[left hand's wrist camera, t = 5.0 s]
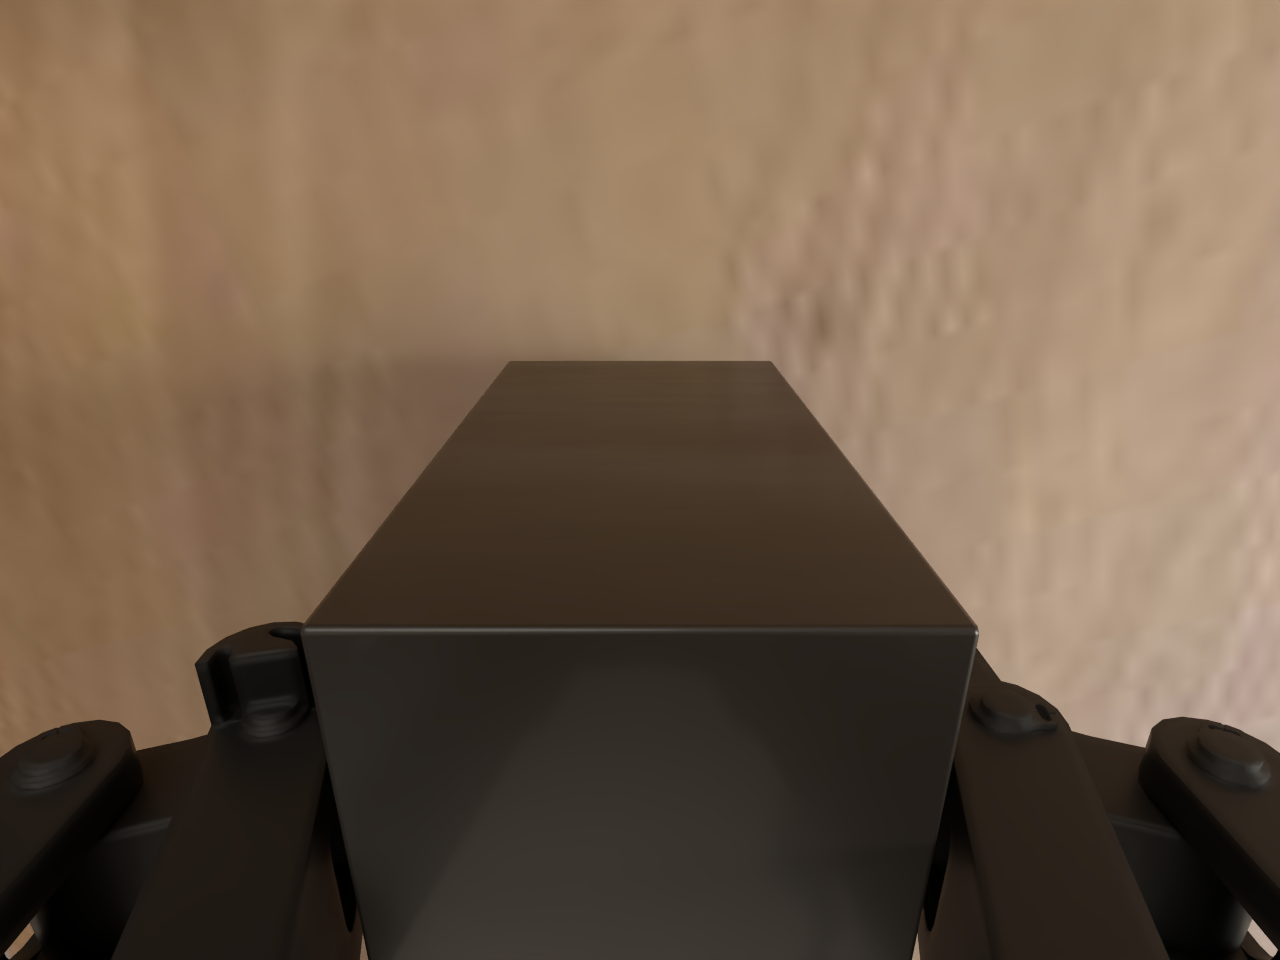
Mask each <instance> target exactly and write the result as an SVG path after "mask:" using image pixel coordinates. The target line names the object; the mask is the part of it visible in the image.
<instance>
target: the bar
mask: <svg viewBox="0 0 1280 960" xmlns="http://www.w3.org/2000/svg"><path fill="white" fill-rule="evenodd" d="M978 637H979V630H978V627H977V625H976V624H975V622H974V621H973V620H972V619H971V617H970V616H969V615H968V613H967V612H966V611H965V610H964V608H963V607H962V606H961V604H960V603H959V602H958V601H957V599H956V598H955V597H954V595H953V594H952V593H951V592H950V590H949V589H948V588H947V586H946V585H945V584H944V583H943V581H942V580H941V579H940V578H939V576H938V575H937V574H936V572H935V571H934V570H933V569H932V567H931V566H930V565H929V563H928V562H927V561H926V560H925V558H924V557H923V556H922V554H921V553H920V552H919V551H918V549H917V548H916V547H915V545H914V544H913V543H912V542H911V540H910V539H909V538H908V536H907V535H906V534H905V533H904V531H903V530H902V529H901V527H900V526H899V525H898V524H897V522H896V521H895V520H894V518H893V517H892V516H891V515H890V513H889V512H888V511H887V509H886V508H885V507H884V506H883V504H882V503H881V502H880V500H879V499H878V498H877V497H876V495H875V494H874V493H873V491H872V490H871V489H870V488H869V486H868V485H867V484H866V482H865V481H864V480H863V479H862V477H861V476H860V475H859V473H858V472H857V471H856V470H855V468H854V467H853V466H852V464H851V463H850V462H849V461H848V459H847V458H846V457H845V455H844V454H843V453H842V452H841V450H840V449H839V448H838V446H837V445H836V444H835V443H834V441H833V440H832V439H831V437H830V436H829V435H828V434H827V432H826V431H825V430H824V428H823V427H822V426H821V425H820V423H819V422H818V421H817V419H816V418H815V417H814V416H813V414H812V413H811V412H810V410H809V409H808V408H807V407H806V405H805V404H804V403H803V402H802V400H801V399H800V398H799V396H798V395H797V394H796V393H795V391H794V390H793V389H792V387H791V386H790V385H789V384H788V382H787V381H786V380H785V378H784V377H783V376H782V375H781V373H780V372H779V371H778V369H777V368H776V367H775V366H774V364H773V363H772V362H770V361H510V362H509V363H508V364H507V365H506V366H505V368H504V369H503V370H502V371H501V373H500V374H499V375H498V377H497V378H496V379H495V380H494V382H493V383H492V384H491V386H490V387H489V388H488V389H487V391H486V392H485V393H484V395H483V396H482V397H481V398H480V400H479V401H478V402H477V403H476V405H475V406H474V407H473V409H472V410H471V411H470V412H469V414H468V415H467V416H466V418H465V419H464V420H463V421H462V423H461V424H460V425H459V426H458V428H457V429H456V430H455V432H454V433H453V434H452V435H451V437H450V438H449V439H448V441H447V442H446V443H445V444H444V446H443V447H442V448H441V449H440V451H439V452H438V453H437V455H436V456H435V457H434V458H433V460H432V461H431V462H430V464H429V465H428V466H427V467H426V469H425V470H424V471H423V473H422V474H421V475H420V476H419V478H418V479H417V480H416V481H415V483H414V484H413V485H412V487H411V488H410V489H409V490H408V492H407V493H406V494H405V496H404V497H403V498H402V499H401V501H400V502H399V503H398V504H397V506H396V507H395V508H394V510H393V511H392V512H391V513H390V515H389V516H388V517H387V519H386V520H385V521H384V522H383V524H382V525H381V526H380V527H379V529H378V530H377V531H376V533H375V534H374V535H373V536H372V538H371V539H370V540H369V542H368V543H367V544H366V545H365V547H364V548H363V549H362V551H361V552H360V553H359V554H358V556H357V557H356V558H355V559H354V561H353V562H352V563H351V565H350V566H349V567H348V568H347V570H346V571H345V572H344V574H343V575H342V576H341V577H340V579H339V580H338V581H337V582H336V584H335V585H334V586H333V588H332V589H331V590H330V591H329V593H328V594H327V595H326V597H325V598H324V599H323V600H322V602H321V603H320V604H319V606H318V607H317V608H316V609H315V611H314V612H313V613H312V614H311V616H310V617H309V618H308V620H307V621H306V622H305V623H304V625H303V626H302V629H301V639H302V643H303V648H304V653H305V658H306V663H307V667H308V672H309V677H310V682H311V687H312V691H313V696H314V701H315V706H316V710H317V715H318V720H319V725H320V730H321V734H322V739H323V744H324V749H325V754H326V758H327V763H328V768H329V773H330V778H331V782H332V787H333V792H334V797H335V802H336V806H337V811H338V816H339V821H340V826H341V830H342V835H343V840H344V845H345V849H346V854H347V859H348V864H349V869H350V873H351V878H352V883H353V888H354V893H355V897H356V902H357V907H358V912H359V917H360V921H361V926H362V931H363V936H364V941H365V945H366V950H367V955H368V960H912V956H913V951H914V946H915V942H916V937H917V932H918V927H919V922H920V917H921V913H922V908H923V903H924V898H925V893H926V888H927V884H928V879H929V874H930V869H931V864H932V859H933V855H934V850H935V845H936V840H937V835H938V830H939V825H940V821H941V816H942V811H943V806H944V801H945V796H946V792H947V787H948V782H949V777H950V772H951V767H952V763H953V758H954V753H955V748H956V743H957V738H958V734H959V729H960V724H961V719H962V714H963V709H964V705H965V700H966V695H967V690H968V685H969V680H970V676H971V671H972V666H973V661H974V656H975V651H976V647H977V642H978Z"/></svg>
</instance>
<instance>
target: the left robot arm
mask: <svg viewBox="0 0 1280 960" xmlns="http://www.w3.org/2000/svg"><path fill="white" fill-rule="evenodd" d="M303 625H304V623H300V622H273V623H269V624H264V625H260V626H255V627H251V628H248V629H245V630H243V631H240V632H238V633H235V634H233V635H230V636H228V637H226V638H224V639H223V640H221V641H219V642H218V643H216V644H215V645H213V646H212V647H210V648H209V649H207V650H206V651H205V652H204V653H203V655H202V656H201V657H200V658H199V659H198V661H197V662H196V663H195V667H196V671H197V674H198V678H199V682H200V685H201V689H202V692H203V696H204V700H205V703H206V707H207V710H208V714H209V718H210V721H211V725H212V726H211V728H210V730H209V733H208V735H204V736H201V737H197V738H193V739H189V740H185V741H180V742H175V743H171V744H166V745H161V746H156V747H152V748H147V749H142V750H138V751H136V749H135V746H134V743H133V740H132V736H131V733H130V731H129V730H128V729H126V728H125V727H124V726H122V725H121V724H120V723H118V722H111V721H104V720H94V721H86V722H78V723H72V724H69V725H64V726H61V727H59V728H54V729H51V730H49V731H46V732H43V733H41V734H40V735H38V736H36V737H34V738H32V739H30V740H28V741H26V742H24V743H22V744H20V745H18V746H16V747H14V748H13V749H12V750H10V751H9V752H8V753H6V754H5V755H3V756H2V757H1V758H0V960H9V959H8V958H6V956H5V954H4V953H5V952H6V950H7V949H8V948H9V947H10V946H11V944H12V943H13V942H14V941H15V939H16V938H17V937H18V936H19V935H20V933H21V932H22V931H23V930H24V929H25V927H26V926H27V925H28V924H29V922H30V924H31V926H32V928H33V931H34V934H33V935H32V937H31V938H30V939H29V940H28V942H27V943H26V944H25V945H24V947H23V948H22V949H21V950H20V951H18V952H17V953H16V954H15V955H14V956H13V957H12V958H11V959H10V960H360V953H361V944H362V934H363V931H362V926H361V921H360V917H359V912H358V907H357V902H356V897H355V893H354V888H353V883H352V878H351V873H350V869H349V864H348V859H347V854H346V849H345V845H344V840H343V835H342V830H341V826H340V821H339V816H338V811H337V806H336V802H335V797H334V792H333V787H332V782H331V778H330V773H329V768H328V763H327V758H326V754H325V749H324V744H323V739H322V734H321V730H320V725H319V720H318V715H317V710H316V706H315V701H314V696H313V691H312V687H311V682H310V677H309V672H308V667H307V663H306V658H305V653H304V648H303V643H302V639H301V629H302V626H303ZM1252 919H1253V920H1254V921H1255V922H1256V924H1257V925H1258V926H1259V927H1260V929H1261V930H1262V931H1263V932H1264V933H1265V935H1266V936H1267V937H1268V938H1269V939H1270V941H1271V942H1272V943H1273V944H1274V945H1275V947H1276V948H1277V949H1278V951H1277V953H1276V955H1275V956H1274V957H1272V956H1270V955H1269V954H1268V953H1267V952H1266V951H1265V950H1264V949H1263V948H1262V947H1261V946H1260V945H1259V944H1258V943H1257V942H1256V940H1255V939H1254V938H1253V937H1252V935H1251V934H1250V933H1249V932H1248V928H1249V926H1250V923H1251V921H1252ZM918 942H919V951H920V960H1280V753H1279V752H1277V751H1276V750H1275V749H1273V748H1272V747H1271V746H1269V745H1268V744H1266V743H1265V742H1263V741H1261V740H1258V739H1256V738H1254V737H1252V736H1250V735H1248V734H1246V733H1244V732H1243V731H1241V730H1239V729H1236V728H1234V727H1231V726H1228V725H1223V724H1221V723H1218V722H1214V721H1210V720H1204V719H1196V718H1188V717H1177V718H1170V719H1163V720H1162V721H1160V722H1159V723H1158V724H1157V725H1155V726H1154V727H1153V728H1152V729H1151V732H1150V735H1149V738H1148V741H1147V744H1146V747H1145V748H1143V747H1139V746H1134V745H1129V744H1124V743H1120V742H1115V741H1110V740H1105V739H1101V738H1096V737H1091V736H1087V735H1084V734H1080V733H1077V732H1073V731H1071V729H1070V727H1069V724H1068V723H1067V722H1066V720H1065V719H1064V717H1063V716H1062V715H1061V713H1060V712H1059V711H1058V709H1057V708H1055V707H1054V706H1053V705H1051V704H1050V703H1049V702H1047V701H1046V700H1045V699H1043V698H1042V697H1041V696H1039V695H1037V694H1035V693H1033V692H1031V691H1029V690H1026V689H1024V688H1022V687H1020V686H1018V685H1015V684H1011V683H1007V682H1003V681H1001V680H1000V679H999V678H998V676H997V675H996V674H995V672H994V671H993V670H992V668H991V667H990V666H989V664H988V663H987V661H986V660H985V659H984V657H983V656H982V655H981V653H980V652H979V651H978V649H977V648H976V651H975V656H974V661H973V666H972V671H971V676H970V680H969V685H968V690H967V695H966V700H965V705H964V709H963V714H962V719H961V724H960V729H959V734H958V738H957V743H956V748H955V753H954V758H953V763H952V767H951V772H950V777H949V782H948V787H947V792H946V796H945V801H944V806H943V811H942V816H941V821H940V825H939V830H938V835H937V840H936V845H935V850H934V855H933V859H932V864H931V869H930V874H929V879H928V884H927V888H926V893H925V898H924V903H923V908H922V913H921V917H920V922H919V927H918Z"/></svg>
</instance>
